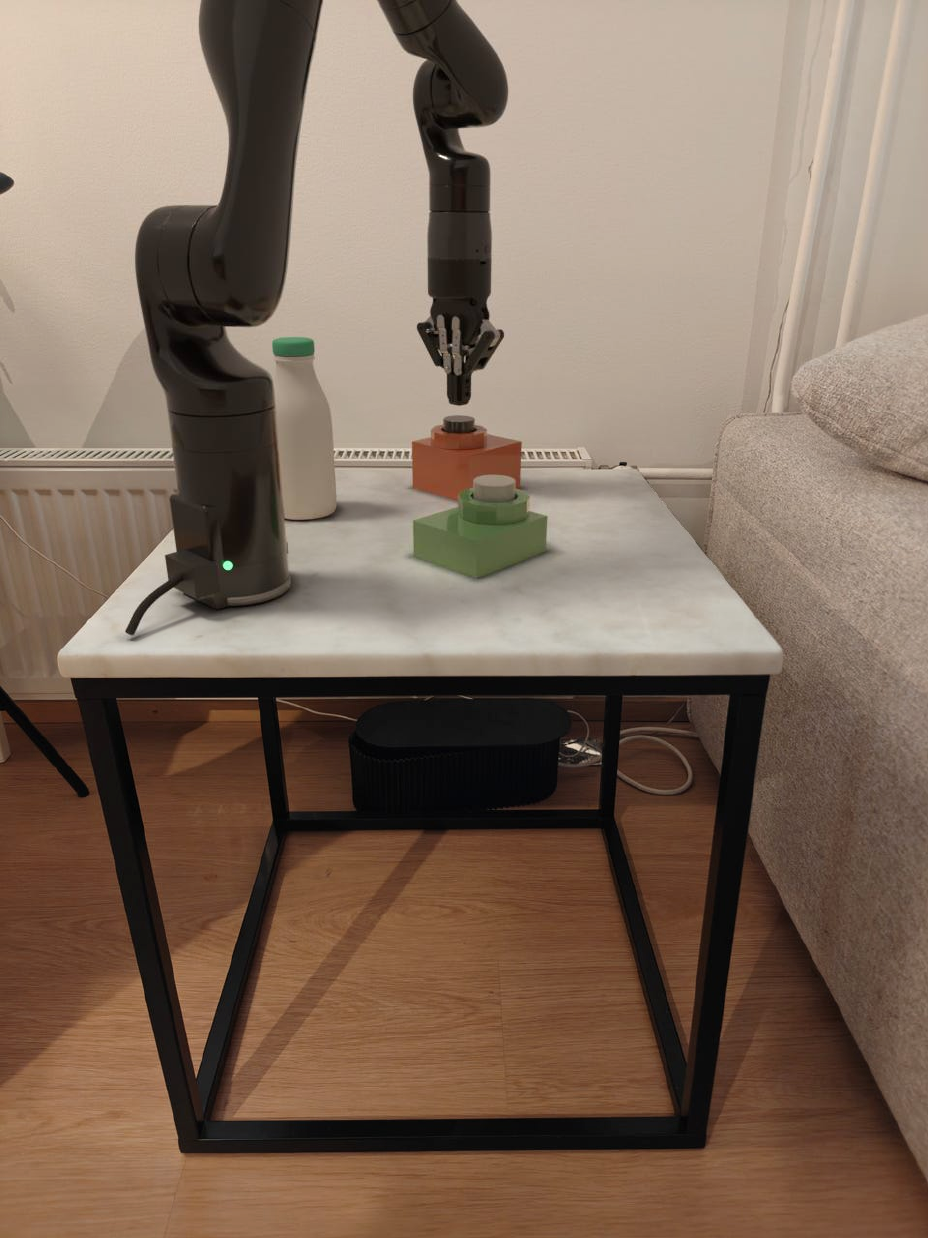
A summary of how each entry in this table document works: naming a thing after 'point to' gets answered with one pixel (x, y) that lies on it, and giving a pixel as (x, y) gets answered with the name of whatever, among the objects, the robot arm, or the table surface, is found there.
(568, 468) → the table surface
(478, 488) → the light grey push button
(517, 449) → the terracotta push button housing
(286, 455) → the milk bottle
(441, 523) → the green push button housing
